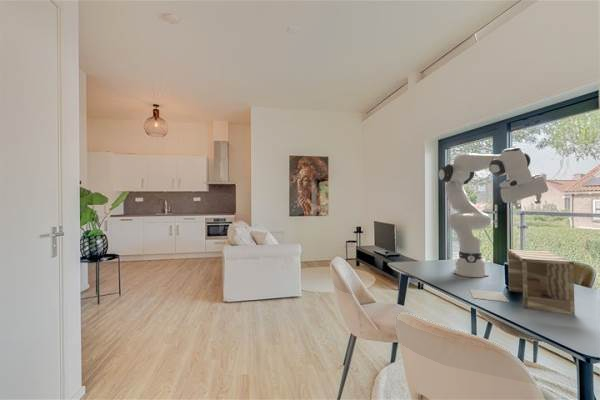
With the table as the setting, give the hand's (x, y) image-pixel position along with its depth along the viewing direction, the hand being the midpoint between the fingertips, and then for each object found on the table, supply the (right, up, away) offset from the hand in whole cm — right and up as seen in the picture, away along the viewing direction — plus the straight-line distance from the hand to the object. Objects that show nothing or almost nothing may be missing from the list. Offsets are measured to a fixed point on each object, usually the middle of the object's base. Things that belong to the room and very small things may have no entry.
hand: (528, 206), depth 136 cm
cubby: (-4, -43, -9) cm, 44 cm away
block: (-5, -43, -8) cm, 45 cm away
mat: (-21, -44, -1) cm, 48 cm away
